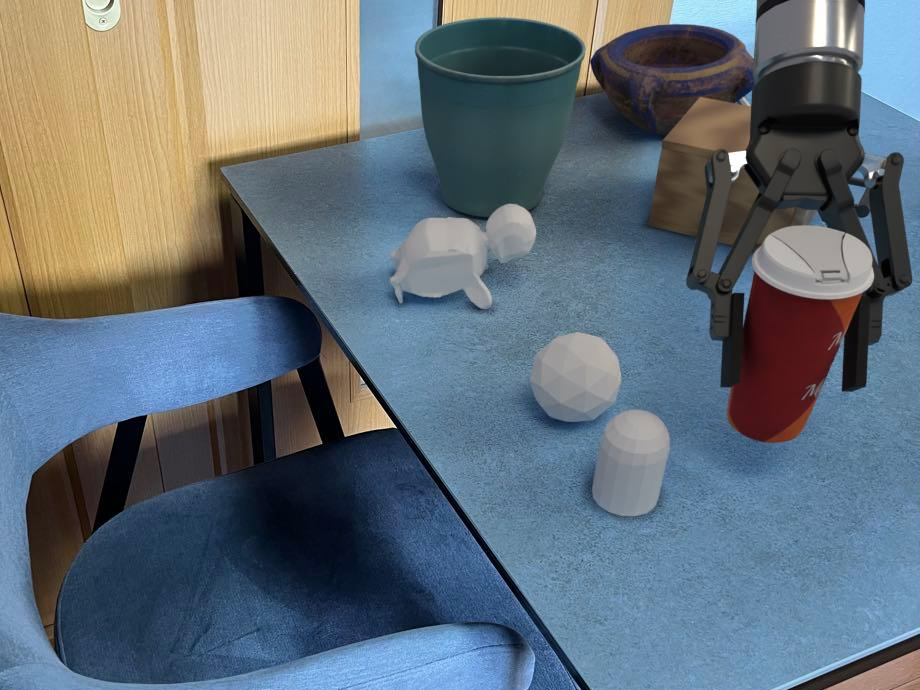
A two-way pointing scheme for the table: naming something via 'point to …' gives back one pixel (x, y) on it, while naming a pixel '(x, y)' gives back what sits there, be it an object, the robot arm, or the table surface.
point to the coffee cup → (795, 326)
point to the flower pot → (496, 107)
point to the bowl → (671, 72)
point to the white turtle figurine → (459, 253)
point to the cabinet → (685, 172)
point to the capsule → (631, 463)
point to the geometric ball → (576, 377)
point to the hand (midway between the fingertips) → (791, 386)
